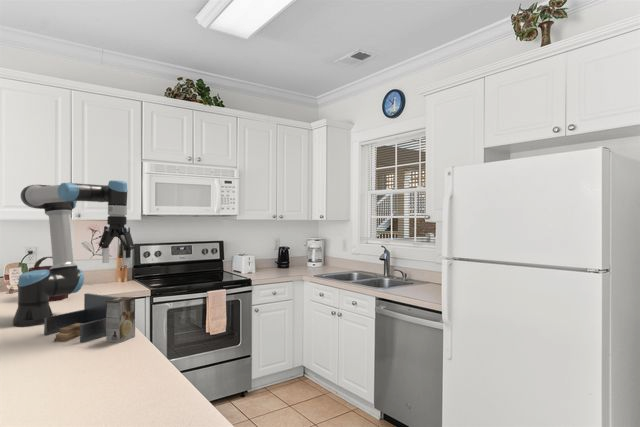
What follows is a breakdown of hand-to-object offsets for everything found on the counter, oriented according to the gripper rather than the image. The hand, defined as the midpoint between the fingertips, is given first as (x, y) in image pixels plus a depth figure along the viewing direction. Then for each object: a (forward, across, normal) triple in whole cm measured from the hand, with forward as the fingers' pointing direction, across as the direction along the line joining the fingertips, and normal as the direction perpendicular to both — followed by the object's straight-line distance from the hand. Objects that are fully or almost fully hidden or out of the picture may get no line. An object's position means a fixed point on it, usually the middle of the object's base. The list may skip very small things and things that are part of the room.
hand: (115, 264), depth 179 cm
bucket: (+31, -87, +23) cm, 95 cm away
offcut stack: (+28, -3, -17) cm, 33 cm away
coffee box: (+28, +17, -10) cm, 34 cm away
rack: (+28, -4, -10) cm, 30 cm away
